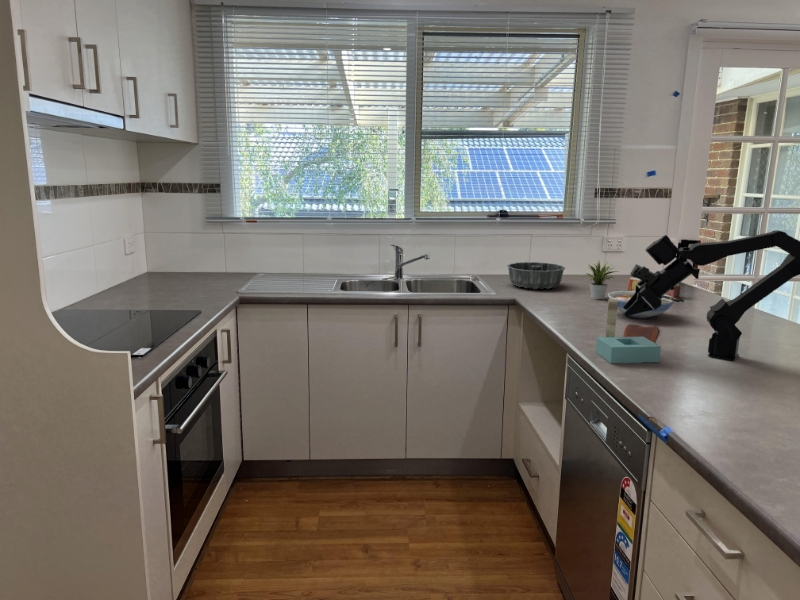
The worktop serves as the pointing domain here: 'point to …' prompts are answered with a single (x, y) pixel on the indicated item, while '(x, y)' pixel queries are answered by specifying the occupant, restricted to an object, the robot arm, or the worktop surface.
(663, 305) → the ramen bowl
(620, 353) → the end cap
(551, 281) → the bundt pan
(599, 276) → the house plant
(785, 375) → the worktop surface
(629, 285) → the snack package
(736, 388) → the worktop surface
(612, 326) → the slat
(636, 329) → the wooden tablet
